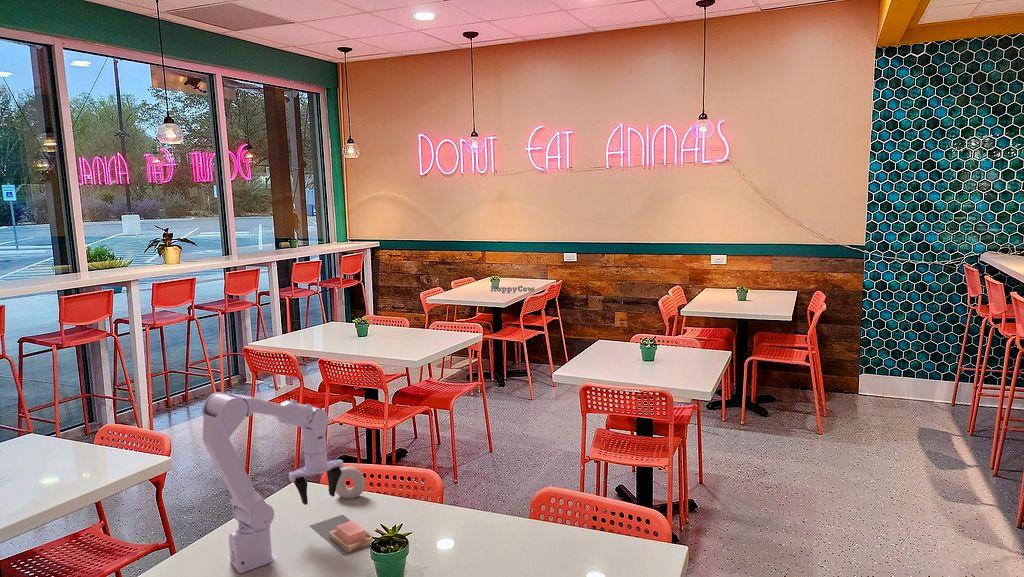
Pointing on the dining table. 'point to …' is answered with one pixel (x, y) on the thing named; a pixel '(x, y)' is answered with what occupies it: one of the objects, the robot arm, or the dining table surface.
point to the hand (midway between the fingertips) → (318, 499)
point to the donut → (357, 479)
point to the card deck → (350, 532)
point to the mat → (330, 525)
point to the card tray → (353, 546)
